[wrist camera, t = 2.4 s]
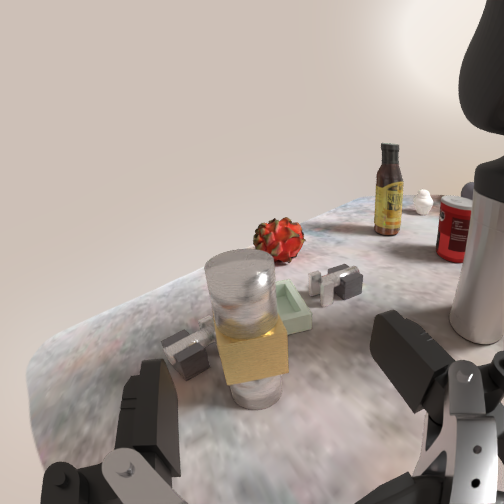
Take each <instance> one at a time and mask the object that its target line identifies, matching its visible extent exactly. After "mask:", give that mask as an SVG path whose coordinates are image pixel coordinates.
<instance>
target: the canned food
mask: <svg viewBox="0 0 504 504" xmlns="http://www.w3.org/2000/svg"><path fill="white" fill-rule="evenodd" d="M471 210H472V200H470V199H467V198H463V197H459V196H443V197H442V199H441V207H440V218H439V227H438V235H437V243H436V252H437V254H438V255H439V256H440V257H441V258H443V259H445V260H447V261H451V262H455V263H462V262H463V260H464V255H465V250H466V244H467V239H468V233H469V226H470V219H471Z"/></svg>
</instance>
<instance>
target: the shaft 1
mask: <svg viewBox="0 0 504 504" xmlns="http://www.w3.org/2000/svg"><path fill="white" fill-rule="evenodd" d="M198 322H199V326H200V330H198V331H196V332H195V333H193V334H191V335H190V334H189V333H188V332H187V331H186V330H185V329H184V330H182V331H180V332H178V333H176V334H175V335H173V336H171V337H169V338H167V339H165V340H163V341H161V343H162V346H163V348H164V349H163V351H164V354H165V356H166V358H167V359H168V361H169V362H170V363H171V364H172V365H173V366H174V368H175V369H176V370H177V371H178V372H179V373H180V374H181V375H182V377H183V378H184V379H185V380H186V381H187V380H189V379H191V378H192V377H194V376H196V375H198V374H199V373H201V372H203V371H204V370H206V369H208V368H210V365H209V361H208V357H207V354H206V350H205V348H204V347H206V346H208V345H209V344H211V343H213V342H216V346H217V350H218V345H217V338H216V332H215V325H214V320H213V317H212V316H210V315H208V316H206V317H204V318H202V319H200V320H198ZM218 354H219V350H218ZM219 355H220V354H219Z"/></svg>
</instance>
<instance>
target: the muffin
mask: <svg viewBox="0 0 504 504" xmlns="http://www.w3.org/2000/svg"><path fill="white" fill-rule="evenodd" d="M413 202H414V206H415V208H416V211H417V213H418V214H421V215H427V214H428V213H429V211H430V209H431V208H432V205H433V200H432V199H431V197H430V193H429V192H428V191H427V190H419V191H418V194H417V195H416V196H415V197H414V199H413Z"/></svg>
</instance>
